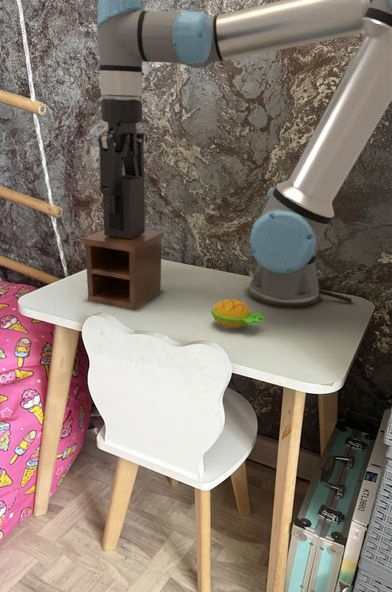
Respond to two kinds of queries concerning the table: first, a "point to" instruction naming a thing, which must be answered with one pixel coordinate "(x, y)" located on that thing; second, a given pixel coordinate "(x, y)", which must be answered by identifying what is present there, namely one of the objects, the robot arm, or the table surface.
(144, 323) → the table surface
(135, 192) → the black upright box
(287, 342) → the table surface
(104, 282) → the shelf
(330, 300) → the table surface
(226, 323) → the orange toy pineapple
